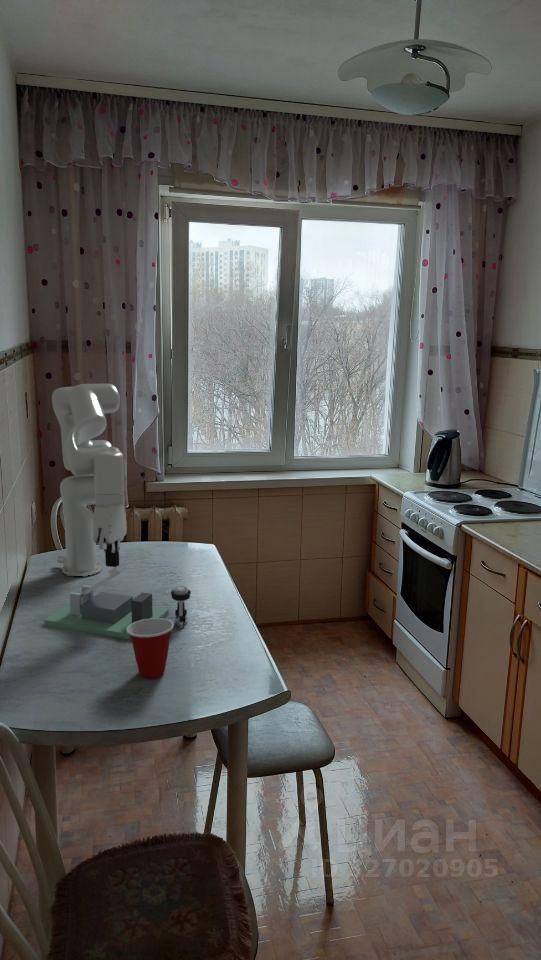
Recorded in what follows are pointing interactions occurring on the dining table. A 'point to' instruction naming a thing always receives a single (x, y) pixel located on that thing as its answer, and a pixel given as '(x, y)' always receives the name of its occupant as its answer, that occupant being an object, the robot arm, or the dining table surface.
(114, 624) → the board
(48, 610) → the dining table surface
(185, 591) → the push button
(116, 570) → the retention strap
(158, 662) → the plastic cup
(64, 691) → the dining table surface
